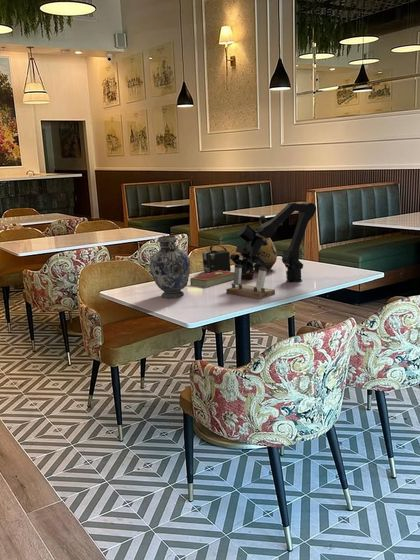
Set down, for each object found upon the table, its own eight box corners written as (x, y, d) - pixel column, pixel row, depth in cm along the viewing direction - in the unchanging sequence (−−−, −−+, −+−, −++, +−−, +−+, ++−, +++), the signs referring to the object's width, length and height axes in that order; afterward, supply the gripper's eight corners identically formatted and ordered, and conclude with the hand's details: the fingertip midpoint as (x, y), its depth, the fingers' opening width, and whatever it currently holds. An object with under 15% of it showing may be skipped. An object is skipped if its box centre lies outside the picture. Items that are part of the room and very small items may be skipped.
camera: (201, 271, 302) (199, 245, 299) (223, 268, 308) (221, 242, 305) (209, 274, 293) (207, 247, 290) (231, 270, 298) (230, 244, 295)
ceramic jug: (279, 271, 286) (276, 216, 280) (250, 273, 287) (247, 218, 281) (275, 266, 303) (273, 213, 297) (248, 267, 303) (245, 215, 297)
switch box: (243, 288, 254) (242, 280, 253) (275, 293, 239) (274, 285, 238) (226, 293, 246) (226, 285, 246) (258, 299, 232) (257, 290, 231)
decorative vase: (198, 297, 242) (192, 236, 236) (158, 303, 237) (151, 241, 232) (186, 288, 262) (181, 232, 257) (149, 293, 258) (143, 236, 252)
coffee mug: (236, 280, 273) (235, 261, 270) (241, 276, 280) (240, 258, 278) (257, 280, 268) (256, 261, 266) (262, 277, 276) (261, 258, 274)
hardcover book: (190, 285, 271) (190, 277, 270) (219, 277, 285) (218, 269, 284) (207, 288, 262) (206, 279, 261) (235, 279, 276) (235, 271, 276)
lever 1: (235, 284, 248) (237, 264, 247) (240, 285, 246) (242, 265, 245) (233, 284, 247) (234, 264, 246) (238, 285, 244) (239, 265, 244)
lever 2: (258, 288, 238) (261, 267, 238) (263, 289, 235) (267, 268, 236) (255, 287, 236) (259, 267, 237) (260, 288, 234) (264, 267, 234)
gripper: (230, 237, 253) (215, 264, 249) (259, 239, 239) (243, 267, 235) (243, 250, 260) (229, 277, 255) (272, 253, 246) (257, 281, 241)
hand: (239, 275), depth 246 cm, fingers closed, pressing on lever 1
